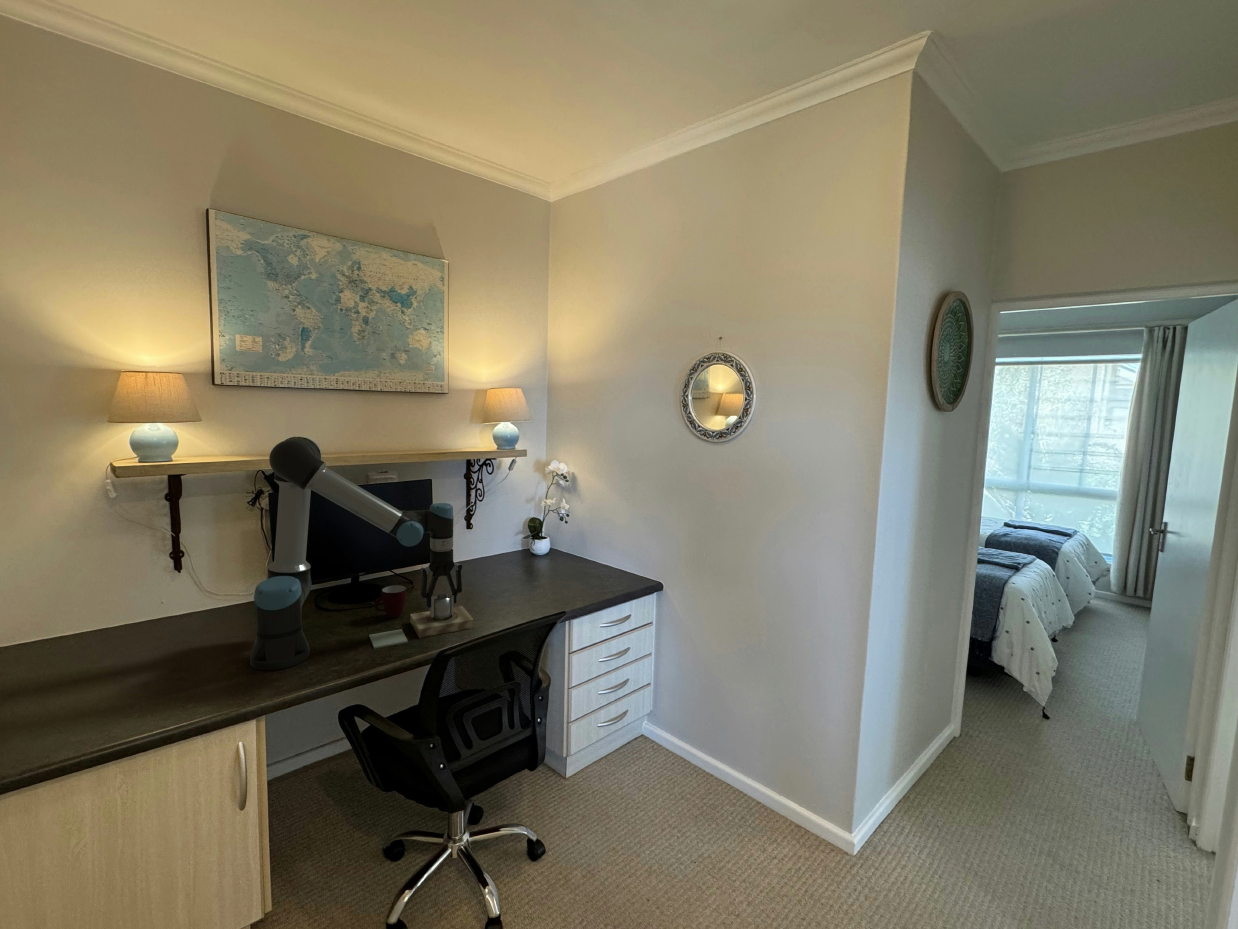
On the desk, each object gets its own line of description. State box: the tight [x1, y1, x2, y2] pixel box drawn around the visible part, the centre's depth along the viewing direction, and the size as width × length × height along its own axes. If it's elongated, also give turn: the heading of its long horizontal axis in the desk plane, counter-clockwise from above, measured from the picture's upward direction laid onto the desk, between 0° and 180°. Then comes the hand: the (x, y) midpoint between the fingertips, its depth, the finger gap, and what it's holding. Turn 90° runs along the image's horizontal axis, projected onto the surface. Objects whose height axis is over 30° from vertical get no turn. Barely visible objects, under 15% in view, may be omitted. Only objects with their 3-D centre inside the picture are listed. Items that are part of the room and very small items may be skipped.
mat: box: [368, 629, 409, 650], centre depth 186 cm, size 10×10×1 cm
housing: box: [409, 605, 475, 639], centre depth 198 cm, size 18×14×3 cm
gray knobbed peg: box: [432, 592, 451, 621], centre depth 198 cm, size 6×6×11 cm
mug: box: [373, 584, 407, 619], centre depth 203 cm, size 11×8×10 cm
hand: (441, 614), depth 198 cm, fingers closed on gray knobbed peg, 6 cm apart
